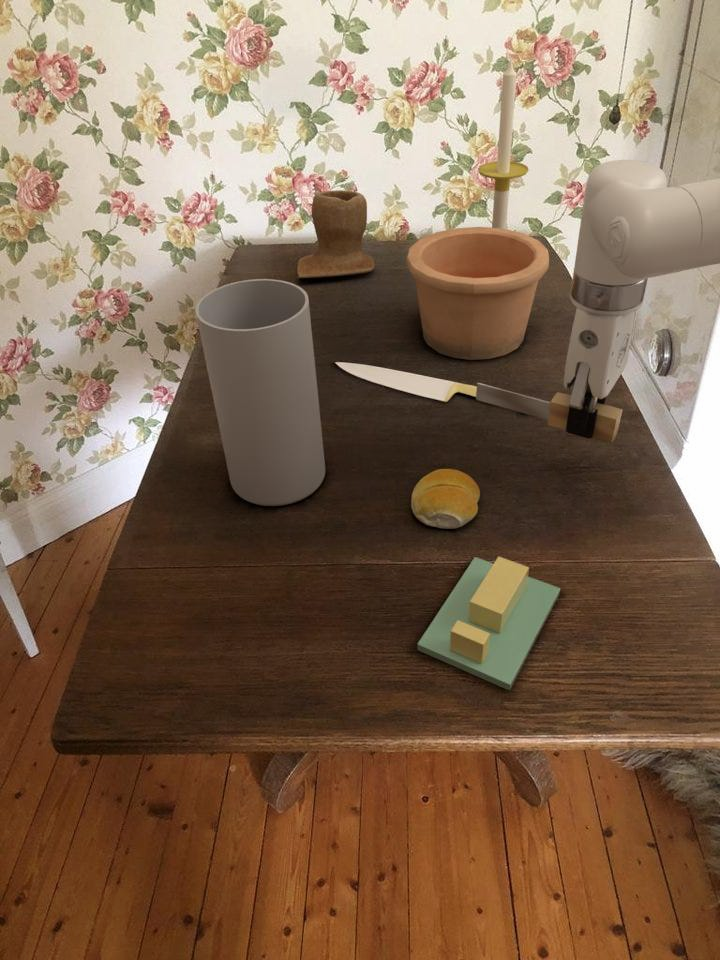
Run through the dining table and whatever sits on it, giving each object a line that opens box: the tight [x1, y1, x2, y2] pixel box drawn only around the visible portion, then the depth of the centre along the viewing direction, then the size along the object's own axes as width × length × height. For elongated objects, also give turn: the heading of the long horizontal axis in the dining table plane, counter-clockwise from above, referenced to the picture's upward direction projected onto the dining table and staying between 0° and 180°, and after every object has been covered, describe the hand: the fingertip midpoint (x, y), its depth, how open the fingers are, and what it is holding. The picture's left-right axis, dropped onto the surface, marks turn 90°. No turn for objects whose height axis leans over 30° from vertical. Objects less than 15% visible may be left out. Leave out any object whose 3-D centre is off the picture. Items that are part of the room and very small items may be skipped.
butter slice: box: [450, 620, 490, 663], centre depth 74 cm, size 4×2×3 cm, turn 59°
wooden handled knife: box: [475, 382, 623, 444], centre depth 93 cm, size 18×2×4 cm, turn 59°
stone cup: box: [296, 189, 375, 279], centre depth 144 cm, size 15×12×15 cm
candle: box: [477, 55, 530, 230], centre depth 130 cm, size 10×10×38 cm
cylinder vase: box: [194, 278, 326, 507], centre depth 91 cm, size 12×12×25 cm
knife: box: [334, 361, 477, 403], centre depth 114 cm, size 1×34×5 cm
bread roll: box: [410, 468, 481, 530], centre depth 92 cm, size 8×9×4 cm
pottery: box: [406, 226, 550, 361], centre depth 121 cm, size 22×22×14 cm
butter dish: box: [416, 555, 561, 691], centre depth 78 cm, size 10×14×4 cm
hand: (583, 426), depth 91 cm, fingers closed on wooden handled knife, 2 cm apart
